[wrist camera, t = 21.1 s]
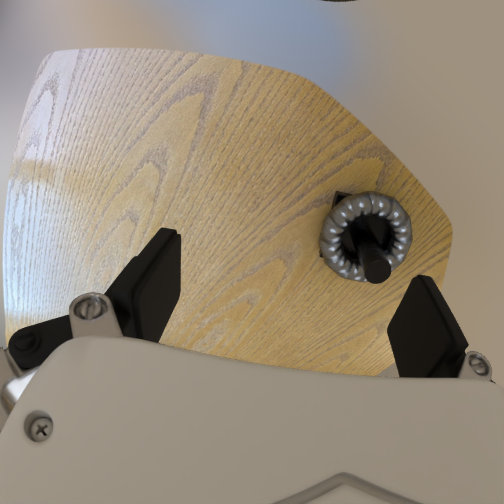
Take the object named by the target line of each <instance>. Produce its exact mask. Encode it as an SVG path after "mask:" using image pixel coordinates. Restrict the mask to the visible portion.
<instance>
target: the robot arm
mask: <svg viewBox="0 0 504 504" xmlns="http://www.w3.org/2000/svg"><path fill="white" fill-rule="evenodd" d="M180 291H181V235H180V234H177V231H176V230H174V229H169V228H163V227H162V228H160V230H159V231H158V232H157V233H156V234H155V236H154V237H153V238H152V239H151V240H150V242H149V243H148V244H147V245H146V246H145V248H144V249H143V250H142V251H141V252H140V254H139V255H138V256H135V257H133V258H132V259H131V261H130V262H129V263H128V264H127V266H126V267H125V268H124V269H123V271H122V272H121V273H120V274H119V276H118V277H117V278H116V279H115V281H114V282H113V283H112V284H111V286H110V287H109V288H108V290H107V291H106V292H105V294H101V293H95V292H91V293H85V294H82V295H80V296H78V297H77V298H75V299H74V300H73V301H72V302H71V304H70V307H69V315H65V316H62V317H59V318H55V319H52V320H48V321H45V322H42V323H38V324H35V325H31V326H28V327H24V328H22V329H20V330H18V331H17V332H15V333H14V334H13V335H12V337H11V338H10V341H9V343H8V348H6V349H5V350H4V349H3V347H0V504H504V388H503V387H502V386H500V385H498V384H496V383H495V382H493V381H492V380H491V376H492V367H491V365H490V363H489V361H488V360H487V359H486V358H485V356H483V355H482V354H481V353H479V352H475V351H470V352H468V353H467V354H466V353H465V349H466V348H467V347H468V345H469V344H468V342H467V340H466V338H465V336H464V335H463V333H462V330H461V329H460V327H459V325H458V323H457V321H456V319H455V317H454V315H453V314H452V312H451V310H450V308H449V306H448V305H447V303H446V301H445V299H444V298H443V296H442V294H441V292H440V291H439V289H438V287H437V286H436V284H435V282H434V281H433V279H432V278H431V277H430V276H425V275H417V276H416V277H414V278H413V279H412V280H411V282H410V285H409V287H408V289H407V291H406V293H405V295H404V297H403V299H402V301H401V303H400V305H399V306H398V308H397V310H396V312H395V314H394V316H393V318H392V320H391V321H390V323H389V325H388V328H387V334H388V337H389V341H390V344H391V347H392V351H393V354H394V358H395V362H396V365H397V369H398V372H399V377H381V376H365V375H352V374H340V373H329V372H320V371H311V370H303V369H295V368H287V367H280V366H273V365H267V364H260V363H254V362H248V361H242V360H237V359H231V358H226V357H221V356H216V355H211V354H206V353H201V352H196V351H192V350H187V349H183V348H179V347H174V346H169V345H164V344H160V343H158V342H159V340H160V338H161V336H162V333H163V331H164V329H165V327H166V325H167V323H168V321H169V319H170V316H171V314H172V312H173V310H174V308H175V306H176V304H177V302H178V300H179V297H180Z"/></svg>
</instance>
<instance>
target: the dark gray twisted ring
mask: <svg viewBox="0 0 504 504" xmlns="http://www.w3.org/2000/svg"><path fill="white" fill-rule="evenodd" d="M368 215H373V216H377V217H381V218H383V219H384V220H385V221H386V222H387V223H388V224H389V225H390V228H391V235H392V238H391V240H390V243H389V245H388V248H387V249H386V250H385V251H384V253H385V255H386V257H387V259H388V261H389V263H390V265H391V268H392V270H391V272H392V271H393V270H394V269H396V268H397V267H398V266H399V265H400V264H401V263H402V262H403V261H404V259H405V257H406V255H407V253H408V250H409V248H410V246H411V243H412V239H413V238H412V228H411V220H410V216H409V215H408V213H407V212H406V211H405V210H404V208H403V207H402V206H401V205H400V204H399V202H398V201H397V200H396V199H395V198H393V197H391V196H387V195H384V194H381V193H377V192H374V191H366V192H362V193H359V194H355V195H351V196H347V197H345V198H343V199H342V200H341V201H340V202H339V203H338V204H337V205H336V206H335V207H334V208H333V209H332V210H331V211H330V212H329V213H328V214H327V215H326V217H325V219H324V223H323V226H322V229H321V233H320V236H319V244H320V248H321V251H322V255H323V258H324V261H325V263H326V264H327V265H328V266H329V267H330V268H331V269H332V270H333V271H335V272H336V273H337V274H338V275H339V276H340V277H342V278H344V279H349V280H354V281H359V282H368V281H367V279H366V278H365V275H364V272H363V269H362V267H361V264H360V261H359V260H357V259H353V258H351V257H350V256H349V255H348V254H347V253H346V252H345V251H344V249H343V245H342V238H343V235H344V232H345V229H346V228H347V227H348V226H349V225H350V224H351V223H352V222H353V221H354V220H355V219H357V218H361V217H364V216H368Z"/></svg>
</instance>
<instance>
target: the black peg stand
mask: <svg viewBox="0 0 504 504" xmlns="http://www.w3.org/2000/svg"><path fill="white" fill-rule="evenodd" d="M351 195H352V194H348V193H344V192H339V191H336V193H335V197H334V201H333V205H332V209H333V208H334V207H335V206H336V205H337V204H338V203H339V202H340V201H341V200H342V199H343V198H345V197H347V196H351ZM332 209H331V210H332ZM391 238H392V235H391V228H390V225H389V224H388V223H387V222H386V221H385V220H384V219H383V218H381V217H377V216H373V215H368V216H364V217H361V218H357V219H355V220H354V221H353V222H352V223H351V224H350V225H349V226H348V227H347V228H346V229H345V232H344V235H343V238H342V245H343V249H344V251H345V252H346V253H347V254H348V255H349V256H350V257H351V258H353V259H357V260H359V261H360V264H361V267H362V269H363V272H364V275H365V278H366V279H367V281H369V282H370V283H373V284H379V283H382V282H384V281H385V280H387V279H388V278H389V276H390V274H391V270H392V268H391V265H390V263H389V261H388V259H387V257H386V255H385V253H384V251H385V250H386V249H387V248H388V245H389V243H390V240H391ZM319 254H320V257H323V255H322V251H321V248H320V251H319Z"/></svg>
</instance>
